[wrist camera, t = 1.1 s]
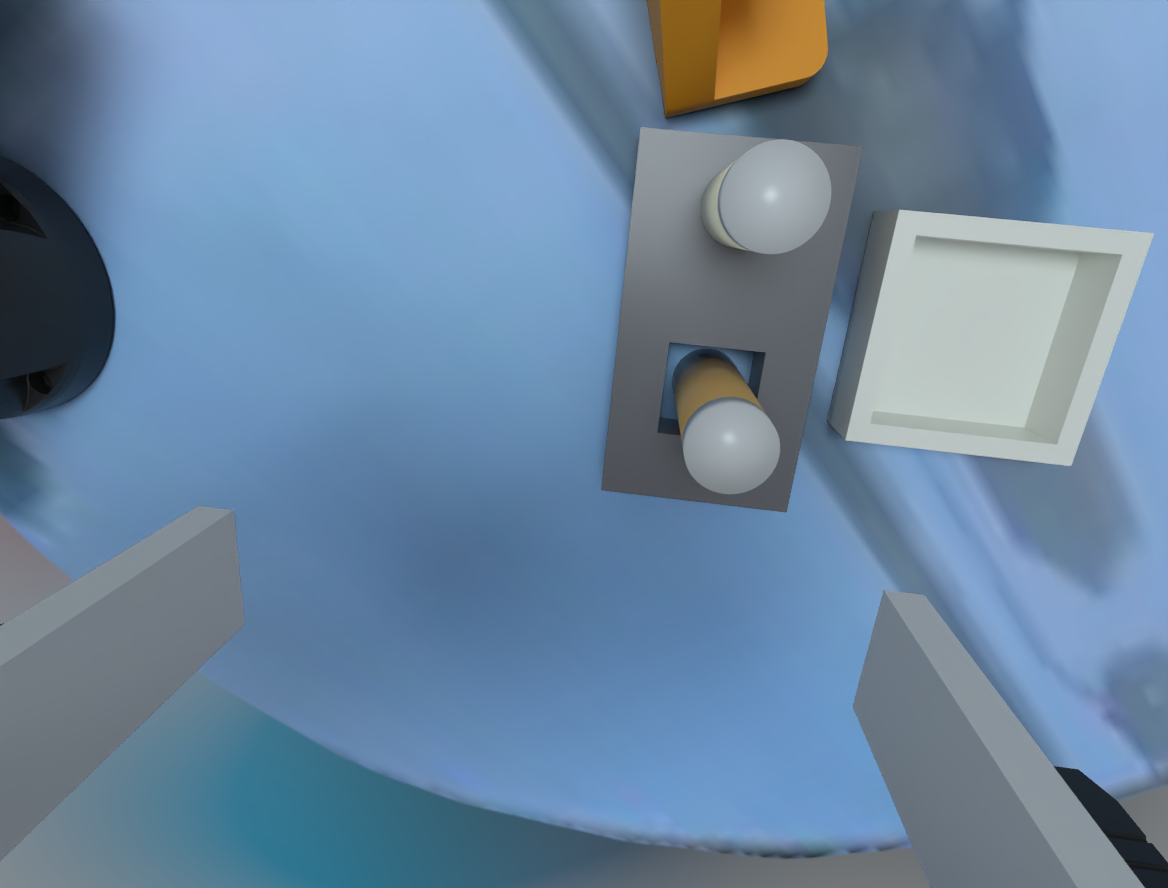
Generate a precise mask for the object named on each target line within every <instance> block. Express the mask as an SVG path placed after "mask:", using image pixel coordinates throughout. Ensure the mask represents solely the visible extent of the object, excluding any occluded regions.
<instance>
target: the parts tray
mask: <svg viewBox="0 0 1168 888" xmlns="http://www.w3.org/2000/svg"><path fill="white" fill-rule="evenodd" d="M1153 235H1154V233H1146V232H1135V231H1124V230H1113V229H1102V228H1092V227H1081V226H1070V225H1059V224H1048V223H1037V222H1027V221H1016V220H1005V219H994V218H983V217H973V216H962V215H951V214H940V213H929V212H918V211H908V210H890V211H877V212H874V213H873V217H872V222H871V226H870V231H869V235H868V240H867V244H866V249H865V253H864V258H863V262H862V267H861V271H860V276H859V280H858V285H857V289H856V294H855V298H854V303H853V307H852V312H851V316H850V321H849V325H848V330H847V334H846V339H845V343H844V348H843V352H842V357H841V361H840V366H839V370H838V375H837V379H836V384H835V388H834V393H833V397H832V402H831V406H830V411H829V415H828V420H827V421H828V422H829V423H830V424H831V425H832V427H833V428H834V429H835V430H836V431H837V432H838V433H839V434H840V435H841V436H842V437H843V438H844V439H845V440H847V441H856V442H864V443H873V444H882V445H891V446H900V447H908V448H917V449H926V450H935V451H944V452H952V453H961V454H970V455H979V456H987V457H996V458H1005V459H1014V460H1023V461H1031V462H1040V463H1049V464H1058V465H1067V466H1071V465H1072V462H1073V459H1074V457H1075V454H1076V451H1077V448H1078V445H1079V443H1080V440H1081V437H1082V434H1083V431H1084V429H1085V426H1086V423H1087V420H1088V417H1089V415H1090V412H1091V409H1092V406H1093V403H1094V401H1095V398H1096V395H1097V392H1098V389H1099V387H1100V384H1101V381H1102V378H1103V375H1104V373H1105V370H1106V367H1107V364H1108V361H1109V359H1110V356H1111V353H1112V350H1113V347H1114V345H1115V342H1116V339H1117V336H1118V333H1119V331H1120V328H1121V325H1122V322H1123V319H1124V317H1125V314H1126V311H1127V308H1128V305H1129V302H1130V300H1131V297H1132V294H1133V291H1134V288H1135V286H1136V283H1137V280H1138V277H1139V274H1140V272H1141V269H1142V266H1143V263H1144V260H1145V258H1146V255H1147V252H1148V249H1149V246H1150V244H1151V241H1152V238H1153Z"/></svg>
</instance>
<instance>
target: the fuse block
mask: <svg viewBox="0 0 1168 888" xmlns="http://www.w3.org/2000/svg"><path fill="white" fill-rule="evenodd" d="M862 151H863V147H862V146H850V145H839V144H827V143H816V142H804V141H793V140H781V139H770V138H758V137H747V136H735V135H724V134H712V133H701V132H689V131H678V130H666V129H655V128H643V127H641V128H640V137H639V147H638V156H637V165H636V174H635V184H634V193H633V202H632V211H631V221H630V230H629V239H628V248H627V258H626V267H625V276H624V285H623V295H622V304H621V313H620V322H619V331H618V341H617V350H616V359H615V368H614V378H613V387H612V396H611V405H610V415H609V424H608V433H607V442H606V452H605V461H604V470H603V479H602V489H601V490H605V491H614V492H622V493H630V494H638V495H647V496H655V497H663V498H672V499H680V500H688V501H696V502H705V503H713V504H721V505H729V506H738V507H746V508H754V509H763V510H771V511H779V512H787V507H788V502H789V498H790V493H791V488H792V483H793V479H794V474H795V469H796V465H797V460H798V455H799V450H800V446H801V441H802V436H803V431H804V427H805V422H806V417H807V412H808V408H809V403H810V398H811V393H812V389H813V384H814V379H815V374H816V370H817V365H818V360H819V355H820V351H821V346H822V341H823V336H824V332H825V327H826V322H827V317H828V313H829V308H830V303H831V298H832V294H833V289H834V284H835V279H836V275H837V270H838V265H839V260H840V256H841V251H842V246H843V241H844V237H845V232H846V227H847V222H848V218H849V213H850V208H851V203H852V199H853V194H854V189H855V184H856V180H857V175H858V170H859V165H860V161H861V156H862ZM669 342H672V343H681V344H691V345H700V346H710V347H719V348H728V349H738V350H747V351H755V353H754V359H753V364H752V370H751V376H750V381H749V388H750V389H751V391H752V393H753V394H754V396H755V397H756V399H757V400H758V402H759V403H760V405H761V407H762V408H763V410H764V411H765V413H766V414H767V416H768V417H769V419H770V421H771V422H772V424H773V425H774V427H775V429H776V431H777V433H778V436H779V441H780V455H779V459H778V463H777V465H776V467H775V469H774V471H773V472H772V474H771V475H770V476H769V477H768V478H767V479H766V480H765V481H764V482H763V483H762V484H760V485H759V486H757V487H756V488H754V489H752V490H749V491H747V492H743V493H739V494H722V493H717V492H714V491H711V490H709V489H707V488H705V487H703V486H702V485H701V484H699V483H698V482H697V481H696V480H695V479H694V478H693V476H692V475H691V474H690V472H689V470H688V468H687V466H686V463H685V459H684V453H683V447H682V440H681V434H680V428H679V422H678V420H676V419H667V418H659V417H660V409H661V402H662V394H663V387H664V379H665V372H666V364H667V357H668V350H669Z"/></svg>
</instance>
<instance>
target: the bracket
mask: <svg viewBox="0 0 1168 888" xmlns="http://www.w3.org/2000/svg"><path fill="white" fill-rule="evenodd" d="M647 4H648V11H649V18H650V24H651V31H652V37H653V44H654V51H655V57H656V63H657V65H658V72H659V78H660V85H661V92H662V98H663V105H664V112H665V118H668V117H672V116H676V115H680V114H684V113H689V112H693V111H697V110H701V109H705V108H710V107H714V106H718V105H722V104H726V103H731V102H735V101H739V100H743V99H747V98H751V97H756V96H760V95H764V94H768V93H772V92H777V91H781V90H785V89H789V88H793V87H797V86H800V85H802V84H804V83H806V82H807V81H808V80H809V79H810V78H811V77H812V76H813V75H814V74H815V73H816V72H818V71H819V70H820V68H821V67H822V66H823V64H824V62H825V60H826V57H827V53H828V42H827V30H826V18H825V6H824V0H647Z"/></svg>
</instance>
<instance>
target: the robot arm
mask: <svg viewBox="0 0 1168 888" xmlns="http://www.w3.org/2000/svg"><path fill="white" fill-rule="evenodd" d="M112 329H113V309H112V299H111V294H110V288H109V284H108V280H107V277H106V274H105V270H104V267H103V265H102V262H101V260H100V257H99V255H98V253H97V251H96V248H95V247H94V245H93V243H92V241H91V239H90V237H89V236H88V234H87V232H86V231H85V229H84V227H83V226H82V224H81V223H80V221H79V220H78V219H77V217H76V216H75V215H74V213H73V212H72V211H71V210H70V208H69V207H68V206H67V205H66V204H65V203H64V201H63V200H62V199H61V198H60V197H59V196H58V195H57V194H56V193H55V192H54V191H53V190H52V189H50V188H49V187H48V186H47V185H46V184H45V183H44V182H42V181H41V180H40V179H39V178H37V177H36V176H35V175H33V174H32V173H30V172H29V171H27V170H26V169H24V168H23V167H21V166H20V165H18V164H16V163H14V162H12V161H10V160H8V159H6V158H4V157H2V156H0V419H6V418H14V417H20V416H24V415H28V414H31V413H35V412H38V411H42V410H45V409H48V408H52V407H55V406H58V405H61V404H63V403H65V402H67V401H69V400H71V399H73V398H74V397H76V396H77V395H79V394H80V393H81V392H83V391H84V390H85V389H86V388H87V387H88V386H89V385H90V384H91V383H92V381H93V380H94V379H95V377H96V376H97V375H98V373H99V371H100V370H101V368H102V366H103V364H104V362H105V359H106V356H107V354H108V350H109V347H110V342H111V337H112ZM244 625H245V622H244V612H243V601H242V591H241V580H240V570H239V560H238V549H237V539H236V528H235V518H234V510H229V509H221V508H213V507H205V506H197V507H195V508H194V509H192V510H191V511H189V512H187V513H186V514H184V515H182V516H181V517H179V518H177V519H176V520H174V521H172V522H171V523H169V524H167V525H166V526H164V527H163V528H161V529H159V530H158V531H156V532H154V533H153V534H151V535H149V536H148V537H146V538H144V539H143V540H141V541H139V542H138V543H136V544H134V545H133V546H131V547H130V548H128V549H126V550H125V551H123V552H121V553H120V554H118V555H116V556H115V557H113V558H111V559H110V560H108V561H106V562H105V563H103V564H102V565H100V566H98V567H97V568H95V569H93V570H92V571H90V572H88V573H87V574H85V575H83V576H82V577H80V578H78V579H77V580H75V581H74V582H72V583H70V584H69V585H67V586H65V587H64V588H62V589H60V590H59V591H57V592H55V593H54V594H52V595H51V596H49V597H47V598H46V599H44V600H42V601H41V602H39V603H37V604H36V605H34V606H32V607H31V608H29V609H27V610H26V611H24V612H23V613H21V614H19V615H18V616H16V617H14V618H13V619H11V620H9V621H8V622H6V623H3V624H0V861H1V860H2V859H3V858H4V857H5V856H6V855H7V854H8V853H9V852H10V851H11V850H12V849H13V848H14V847H15V846H17V845H18V844H19V843H20V842H21V841H22V840H23V839H24V838H25V837H26V836H27V835H28V834H29V833H30V832H31V831H32V830H33V829H34V828H35V827H36V826H37V825H38V824H39V823H40V822H41V821H42V820H43V819H44V818H45V817H46V816H47V815H48V814H50V812H51V811H53V810H54V809H55V808H56V807H57V806H58V805H59V804H60V803H61V802H62V801H63V800H64V799H65V798H66V797H67V796H68V795H69V794H70V793H71V792H72V791H73V790H74V789H75V788H76V787H77V786H78V785H79V784H80V783H81V782H83V781H84V780H85V779H86V778H87V777H88V776H89V775H90V774H91V773H92V772H93V771H94V770H95V769H96V768H97V767H98V766H99V765H100V764H101V763H102V762H103V761H104V760H105V759H106V758H107V757H108V756H109V755H110V754H111V753H112V752H113V751H115V750H116V749H117V748H118V747H119V746H120V745H121V744H122V743H123V742H124V741H125V740H126V739H127V738H128V737H129V736H130V735H131V734H132V733H133V732H134V731H135V730H136V729H137V728H138V727H139V726H140V725H141V724H142V723H143V722H144V721H145V720H147V718H149V717H150V716H151V715H152V714H153V713H154V712H155V711H156V710H157V709H158V708H159V707H160V706H161V705H162V704H163V703H164V702H165V701H166V700H167V699H168V698H169V697H170V696H171V695H172V694H173V693H174V692H175V691H176V690H177V689H178V688H179V687H181V686H182V685H183V684H184V683H185V682H186V681H187V680H188V679H189V678H190V677H191V676H192V675H193V674H194V673H195V672H196V671H197V670H198V669H199V668H200V667H201V666H202V665H203V664H204V663H205V662H206V661H207V660H208V659H209V658H211V657H212V656H213V655H214V654H215V653H216V652H217V651H218V650H219V649H220V648H221V647H222V646H223V645H224V644H225V643H226V642H227V641H228V640H229V639H230V638H231V637H232V636H233V635H234V634H235V633H236V632H237V631H238V630H239V629H240V628H241V627H242V626H244ZM853 708H854V711H855V713H856V716H857V718H858V720H859V723H860V725H861V727H862V730H863V732H864V734H865V737H866V739H867V741H868V744H869V746H870V748H871V751H872V753H873V755H874V758H875V760H876V762H877V765H878V767H879V769H880V772H881V774H882V776H883V779H884V781H885V784H886V786H887V788H888V791H889V793H890V795H891V798H892V800H893V802H894V805H895V807H896V809H897V812H898V814H899V816H900V819H901V821H902V823H903V826H904V828H905V830H906V833H907V835H908V837H909V840H910V842H911V845H912V847H913V849H914V851H915V854H916V856H917V859H918V861H919V863H920V866H921V868H922V870H923V873H924V875H925V877H926V880H927V882H928V884H929V887H930V888H1168V862H1167V861H1166V860H1165V859H1164V857H1162V855H1161V854H1160V853H1159V851H1158V850H1157V849H1156V848H1155V847H1154V845H1153V844H1152V843H1147V841H1146V836H1145V834H1144V833H1143V832H1142V831H1141V830H1140V828H1139V827H1138V826H1137V825H1136V823H1135V822H1134V821H1133V820H1132V818H1130V816H1129V815H1128V814H1127V812H1126V811H1125V810H1124V809H1123V807H1122V806H1121V805H1120V804H1119V803H1118V801H1117V800H1115V799H1114V798H1113V797H1112V796H1110V795H1109V794H1108V793H1107V792H1105V791H1104V790H1103V789H1102V788H1100V787H1099V786H1098V785H1097V784H1096V783H1094V782H1093V781H1092V780H1091V779H1089V778H1088V777H1087V776H1086V775H1084V774H1083V773H1082V772H1081V771H1079V770H1078V769H1070V768H1063V767H1056V766H1053V765H1052V764H1051V763H1050V761H1049V760H1048V759H1047V757H1046V756H1045V755H1044V753H1043V752H1042V751H1041V749H1040V748H1039V747H1038V745H1037V744H1036V743H1035V741H1034V740H1033V739H1032V737H1031V736H1030V735H1029V733H1028V732H1027V731H1026V729H1025V728H1024V727H1023V725H1022V724H1021V723H1020V721H1019V720H1018V719H1017V717H1016V716H1015V715H1014V713H1013V712H1012V711H1011V709H1010V708H1009V707H1008V705H1007V704H1006V703H1005V702H1004V700H1003V699H1002V698H1001V696H1000V695H999V694H998V692H997V691H996V690H995V688H994V687H993V686H992V684H991V683H990V682H989V680H988V679H987V678H986V676H985V675H984V674H983V672H982V671H981V670H980V668H979V667H978V666H977V664H976V663H975V662H974V660H973V659H972V658H971V656H970V655H969V654H968V652H967V651H966V650H965V648H964V647H963V646H962V644H961V643H960V642H959V641H958V639H957V638H956V637H955V635H954V634H953V633H952V631H951V630H950V629H949V627H948V626H947V625H946V623H945V622H944V621H943V619H942V618H941V617H940V615H939V614H938V613H937V611H936V610H935V609H934V607H933V606H932V605H931V603H930V602H929V601H928V599H927V598H926V597H925V595H919V594H910V593H902V592H894V591H886V590H884V591H883V595H882V598H881V602H880V606H879V610H878V613H877V617H876V621H875V625H874V628H873V632H872V636H871V640H870V643H869V647H868V651H867V655H866V658H865V662H864V666H863V670H862V673H861V677H860V681H859V684H858V688H857V692H856V696H855V699H854V703H853Z"/></svg>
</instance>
